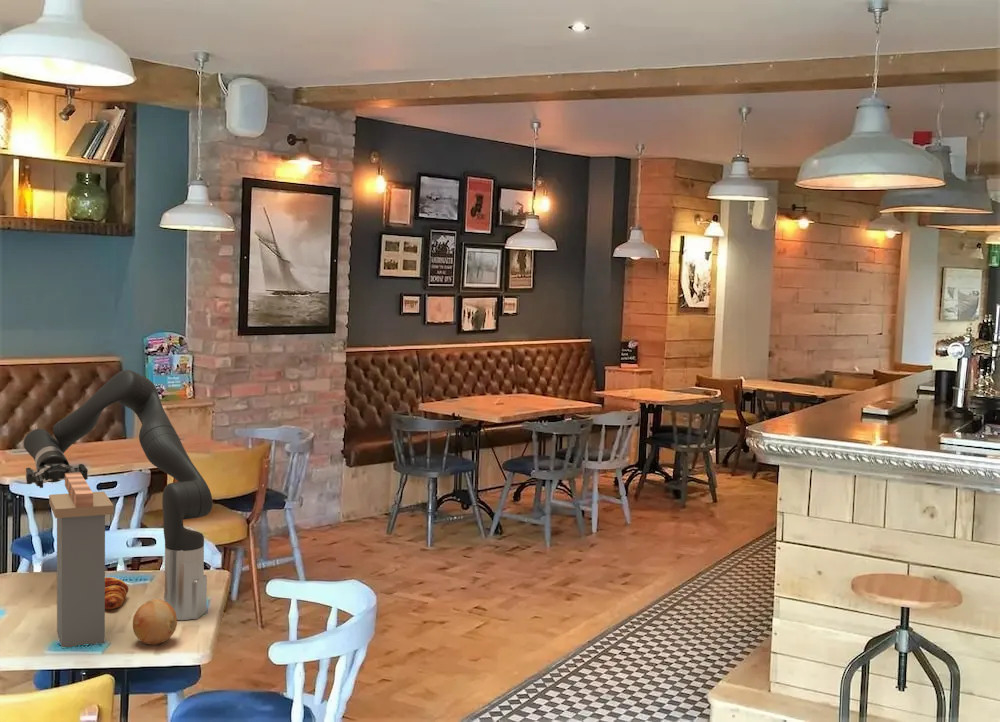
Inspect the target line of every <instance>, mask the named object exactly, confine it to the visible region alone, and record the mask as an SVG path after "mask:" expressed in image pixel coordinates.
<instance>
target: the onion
mask: <svg viewBox="0 0 1000 722" xmlns="http://www.w3.org/2000/svg"><path fill="white" fill-rule="evenodd" d="M177 626H178V620H177V617H176V613H175V611H174V609H173V608H172V606H171V605H170V604H168V603H167V602H165V600H163V599H158V598H155V599H150V600H148V601H146V602H145V603H143V604H141V605H140V606H139V607H138V608H137V610H135V613H134V615H133V618H132V630H133V633H134V635H135V636H136V638H137V639H138V640H139V641H141V643H143V644H148V645H154V646H155V645H158V644H161V643H164V642H165V641H167V640H170V638H171V637H172V636H173V635H174V633H175V632H176V631H177Z"/></svg>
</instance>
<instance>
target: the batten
mask: <svg viewBox="0 0 1000 722" xmlns="http://www.w3.org/2000/svg"><path fill="white" fill-rule="evenodd" d="M64 487H65V489H66V491H67V492H68V493H67V494H69V495H70V497H71V499H72V501H73V503H74V505H75V506H76V508H81V507H93V492H94V491H92V489H91V487H90V485H89V484H88V482H87V480H85V479H84V478H83V476H82V474H81V473H80V472H79V473H65V480H64Z"/></svg>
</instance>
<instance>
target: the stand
mask: <svg viewBox="0 0 1000 722" xmlns="http://www.w3.org/2000/svg"><path fill="white" fill-rule="evenodd" d="M92 492H93V507H81V508H76V506H75V505H74V503H73V501H72V499H71V497H70V495H69V493H59V494H57V493H55V494H49V495H48V503H49V506H50V508H51V511H52V514H53V516H54V518H55V519H56V632H57V636H58V639H59V643H61V644H60V646H61V647H60V648H62V647H68V648H73V647H72V646H76V647H78V646H77V645H84V644H92V645H97V644H96V643H100V644H105V643H104V642H106V640H105V637H106V633H105V631H106V630H105V628H106V627H105V626H106V623H105V622H106V617H105V616H106V614H105V613H106V609H105V577H106V515H114V504H113V503H112V501H111V500H110V498H109V496H108V495H107V493H106V492H105V491H92ZM84 646H85V645H84Z"/></svg>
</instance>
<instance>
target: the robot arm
mask: <svg viewBox="0 0 1000 722" xmlns="http://www.w3.org/2000/svg"><path fill="white" fill-rule="evenodd" d="M115 403H118V404H120V405H121V406H123V407H126V408H128V409H130V410H131V411H132V412H134V413H135V415H136V417H138V420H139V422H140V423H141V425H140V426H141V427H140V429H139V434H138V441H139V444H140V446H141V448H142V450H143V452H144V455H145V457H146V458H147V460H148V462H150V464H152V466H154V467H156V468H157V469H158V470H159V471H162V472H164V473H165V474H167V475H168V476H170V477H172V478H173V479H174V480H176V482H170V483H167V484H166V485H165V487H164V489H163V492H162V517H163V521H162V523H163V536H164V537H163V538H164V597H163V598H164V600H163V601H165V602H167V603H168V604H170V605H171V606H172V608H173V609H174V611H175V613H176V617H177V621H188V620H199V618H200V617H202V616H203V615H205V612H206V613H207V605H208V604H207V603H208V602H207V601H208V600H207V595H208V594H207V593H208V591H207V590H208V589H207V588H208V587H207V586H208V576H207V574H204V573H205V572H204V570H205V569H204V568H205V566H204V565H205V561H204V560H205V558H204V557H205V536H204V533H201V532H200V531H197V530H188V529H186V528H184V527H185V526H184V520H190V519H197V518H202V517H206V516H208V515H209V514H210V513H211V512H212V509H213V503H214V502H213V496H212V493H211V490H210V488H209V485H208V483H207V482H206V480H205V479H204V478H203V476H202V475H201V473H200V471H199V470H198V469H197V467H196V466H195V464H194V463H193V461H192V460H191V458H190V456H189V454H188V453H187V451H186V449H185V447H184V445H183V443H182V441H181V439H180V436H179V435H178V433H177V431H176V429H175V428H174V425H173V424H172V422H171V420H170V419H169V417H168V415H167V413H166V411H165V409H164V407H163V404H162V401H161V398H160V396H159V393H158V390H157V387H156V385H155V384H154V383H153V382H152V380H150V379H149V378H147V377H145V376H143V375H141V374H140V373H137V372H135V371H133V370H131V369H124V370H120V371H118V373H116V374H115V375H113V376H112V377H111V378H110V379H109V380H107V381H106V383H104V384H103V385H102V386H101V387H100V388H99V389H98V390H97V391H96V392H95V393H94V394H93V395H92V396H91V397H90V398H89V399H88V400H87V401H85V402H84V403H83V404H82V405H81V406H80V407H78V408H77V409H75V410H74V411H73V412H71V413H69V414H68V415H67V416H65V417H63V418H62V419H60V420H58V421H57V422H56V423H54V425H53V426H52V433H53V435H51V434H50V433H49V432H48V431H47V430H46V429H44V428H35V429H33V430H31V431H29V432H28V434H26V436H25V438H24V439H23V448H24V449H25V451H26V452H27V453H28V454H29V455H30V456H31V457H32V458H33V461H34V464H35V469H33V468H31V467H26V468H25V479H26V485H32V484H33V483H34V484H35V485H36V487H39V488H40V489H43V488H44V484H46V483H51V484H52V483H53V484H54V483H59V482H61V481H65V473H79V472H80V473H81V474H82V476H83V478H84V479H85V481H87V480H88V479H89V477H88V472H89V471H88V470H89V469H87V467H86V466H85V465H84V464H83V463H79V464H78V466H77V467H73V465H70V463H69V461H68V459H67V457H66V455H65V454H64V453H66V451H67V450H68V449H69V448H70V447H72V445H74V443H76V442H77V441H79V440H80V439H81V438H83V437H85V436H86V435H88V434H89V433H90V432H92V431H93V430H94V428H95V427H96V426H97V424H98V421H99V419H100V416H101V414H102V413H103V411H104V410H105V409H106V408H108V407H109V406H111V405H114V404H115Z"/></svg>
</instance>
